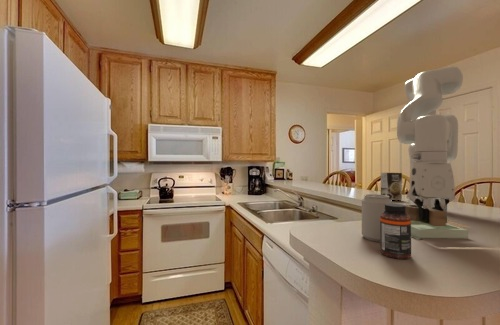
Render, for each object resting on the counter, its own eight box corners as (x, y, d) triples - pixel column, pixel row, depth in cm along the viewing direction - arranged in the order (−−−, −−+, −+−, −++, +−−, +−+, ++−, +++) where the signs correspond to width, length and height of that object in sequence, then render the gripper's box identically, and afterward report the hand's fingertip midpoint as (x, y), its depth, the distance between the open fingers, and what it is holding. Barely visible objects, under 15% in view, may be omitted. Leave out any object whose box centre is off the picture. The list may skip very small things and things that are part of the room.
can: (397, 243, 61) (397, 197, 61) (365, 241, 63) (365, 196, 63) (386, 235, 69) (386, 193, 69) (358, 233, 70) (358, 192, 70)
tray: (384, 224, 82) (384, 216, 82) (423, 224, 81) (423, 216, 81) (419, 239, 64) (419, 229, 65) (468, 240, 64) (468, 229, 64)
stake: (419, 220, 87) (419, 192, 87) (444, 221, 87) (444, 192, 87) (443, 228, 76) (443, 196, 76) (472, 229, 76) (471, 196, 76)
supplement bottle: (388, 248, 58) (388, 201, 58) (416, 256, 53) (416, 205, 53) (374, 253, 55) (374, 203, 55) (403, 262, 50) (402, 207, 50)
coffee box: (388, 201, 134) (388, 172, 134) (380, 199, 140) (380, 172, 140) (402, 201, 136) (402, 172, 136) (393, 199, 142) (393, 172, 142)
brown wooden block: (400, 216, 78) (400, 204, 78) (421, 217, 78) (421, 204, 78) (427, 226, 66) (426, 211, 66) (452, 226, 66) (452, 211, 66)
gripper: (410, 157, 66) (410, 224, 65) (470, 158, 66) (471, 225, 65) (394, 158, 73) (394, 218, 73) (448, 159, 73) (448, 219, 73)
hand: (430, 221), depth 69 cm, fingers closed on brown wooden block, 3 cm apart
